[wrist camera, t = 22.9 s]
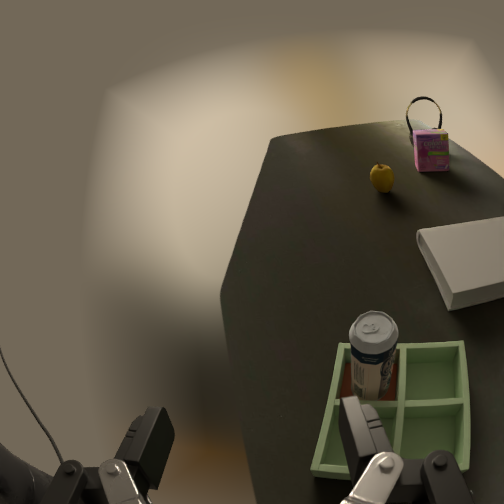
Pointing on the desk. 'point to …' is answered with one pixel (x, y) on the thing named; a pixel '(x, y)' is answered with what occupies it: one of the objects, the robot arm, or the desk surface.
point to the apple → (382, 178)
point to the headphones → (408, 119)
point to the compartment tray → (406, 406)
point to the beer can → (372, 354)
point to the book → (466, 261)
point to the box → (431, 150)
